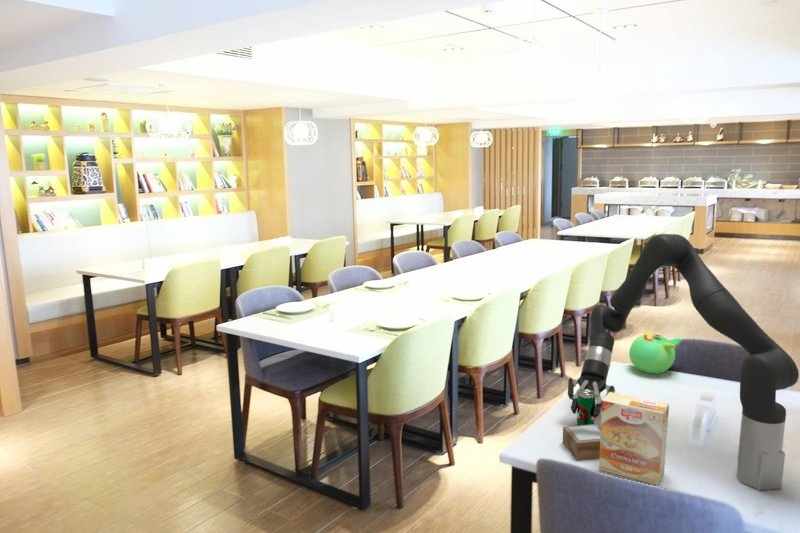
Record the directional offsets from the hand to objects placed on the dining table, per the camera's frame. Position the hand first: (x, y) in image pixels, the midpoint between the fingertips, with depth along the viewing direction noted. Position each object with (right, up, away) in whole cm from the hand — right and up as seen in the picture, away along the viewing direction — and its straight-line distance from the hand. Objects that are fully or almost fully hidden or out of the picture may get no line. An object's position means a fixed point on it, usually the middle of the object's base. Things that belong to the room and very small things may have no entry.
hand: (584, 414), depth 180 cm
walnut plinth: (-2, -7, -10) cm, 13 cm away
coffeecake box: (+6, -10, -22) cm, 24 cm away
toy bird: (+40, +4, +48) cm, 63 cm away
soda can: (+1, -5, +3) cm, 6 cm away
